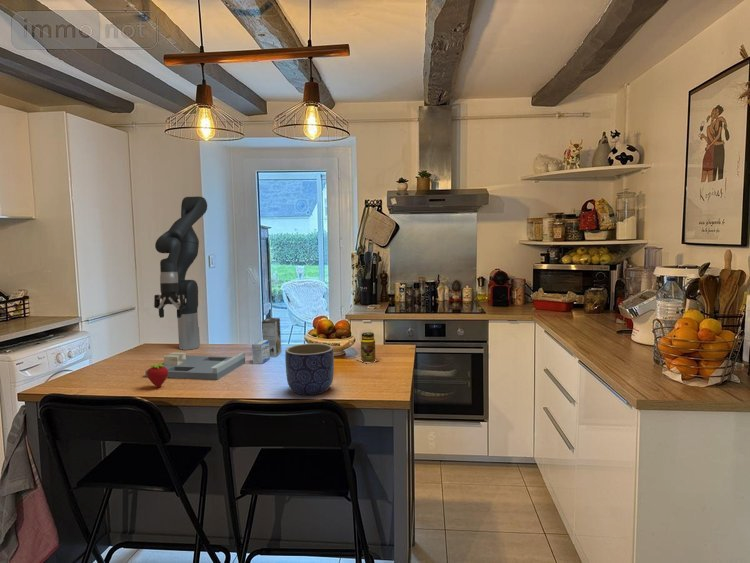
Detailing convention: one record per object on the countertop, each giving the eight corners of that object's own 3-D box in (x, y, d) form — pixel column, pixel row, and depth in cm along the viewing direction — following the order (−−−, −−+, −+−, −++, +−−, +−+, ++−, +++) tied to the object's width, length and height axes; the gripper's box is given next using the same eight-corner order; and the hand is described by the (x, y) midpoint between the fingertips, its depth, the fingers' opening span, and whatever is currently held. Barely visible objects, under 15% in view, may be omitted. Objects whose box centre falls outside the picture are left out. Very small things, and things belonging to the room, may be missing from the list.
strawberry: (153, 384, 179) (152, 357, 178) (172, 385, 177) (171, 358, 176) (143, 389, 173) (142, 362, 172) (163, 390, 172) (161, 362, 171)
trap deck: (181, 360, 212) (180, 350, 211) (245, 362, 206) (244, 352, 206) (145, 377, 188) (145, 365, 188) (217, 379, 183) (216, 368, 182)
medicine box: (262, 364, 204) (261, 344, 203) (252, 364, 205) (251, 343, 204) (270, 359, 212) (269, 340, 211) (260, 359, 212) (259, 339, 212)
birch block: (172, 360, 202) (172, 352, 202) (185, 361, 201) (185, 352, 201) (164, 364, 196) (163, 356, 196) (177, 365, 195) (177, 356, 195)
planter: (344, 389, 170) (343, 347, 168) (308, 401, 157) (306, 357, 156) (313, 380, 181) (311, 340, 179) (276, 391, 168) (275, 349, 167)
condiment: (365, 364, 201) (365, 335, 200) (354, 360, 208) (354, 332, 207) (380, 361, 205) (379, 333, 204) (369, 357, 212) (368, 330, 211)
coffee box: (267, 352, 225) (266, 317, 223) (281, 352, 224) (280, 317, 223) (262, 357, 215) (261, 321, 214) (277, 357, 215) (275, 321, 214)
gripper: (188, 281, 222) (189, 316, 222) (160, 281, 224) (161, 316, 225) (178, 282, 214) (179, 318, 215) (149, 282, 217) (151, 318, 218)
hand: (170, 317), depth 220 cm, fingers open, 8 cm apart
